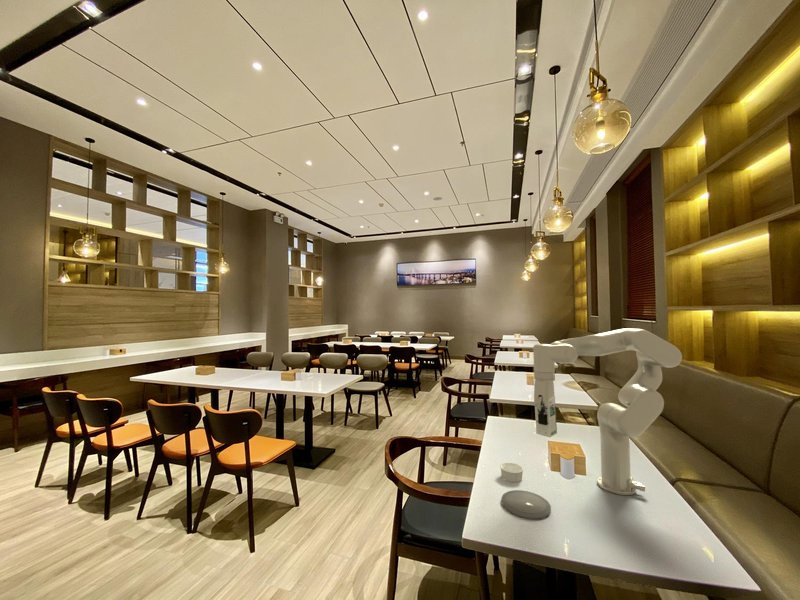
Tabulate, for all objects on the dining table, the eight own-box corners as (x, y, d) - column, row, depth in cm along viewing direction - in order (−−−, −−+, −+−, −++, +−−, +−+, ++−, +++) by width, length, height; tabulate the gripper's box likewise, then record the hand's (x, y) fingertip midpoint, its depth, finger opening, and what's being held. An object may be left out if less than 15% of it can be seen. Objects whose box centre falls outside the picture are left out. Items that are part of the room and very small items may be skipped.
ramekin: (525, 484, 130) (524, 473, 130) (501, 482, 132) (501, 471, 132) (521, 473, 138) (521, 463, 139) (499, 471, 140) (499, 461, 140)
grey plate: (557, 504, 116) (557, 501, 116) (541, 526, 104) (540, 522, 104) (512, 488, 126) (512, 485, 126) (493, 506, 115) (493, 502, 115)
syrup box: (550, 437, 125) (549, 398, 125) (535, 433, 129) (534, 396, 130) (557, 434, 128) (555, 396, 129) (542, 430, 133) (541, 393, 134)
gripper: (542, 371, 139) (543, 415, 138) (526, 377, 126) (527, 425, 125) (561, 373, 134) (563, 418, 133) (546, 380, 121) (548, 430, 120)
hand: (545, 421), depth 129 cm, fingers closed on syrup box, 6 cm apart
